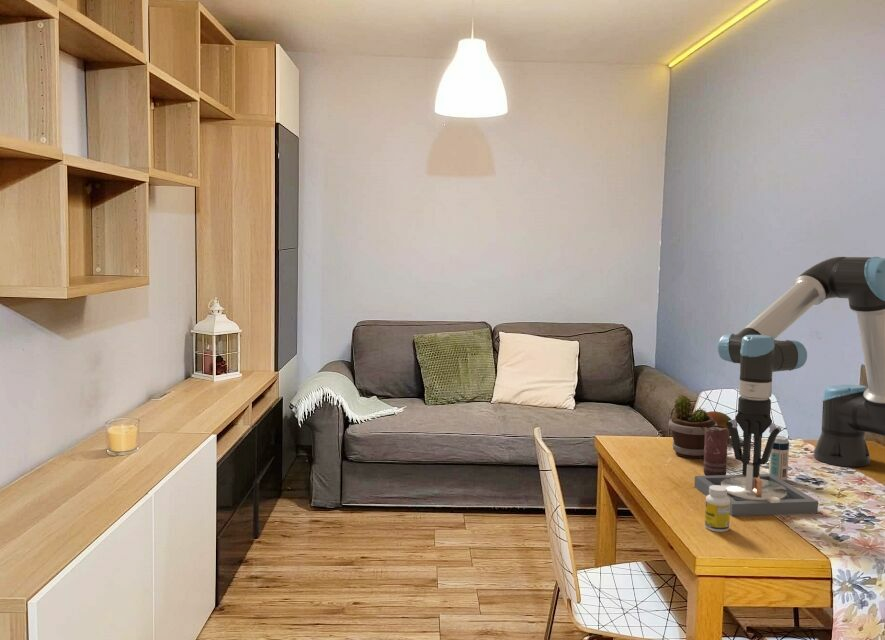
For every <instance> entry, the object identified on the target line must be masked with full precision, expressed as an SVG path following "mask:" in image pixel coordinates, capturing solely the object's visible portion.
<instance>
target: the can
mask: <svg viewBox="0 0 885 640" xmlns="http://www.w3.org/2000/svg"><path fill="white" fill-rule="evenodd" d="M729 438H730V437H729V430H728V429H727V428H725V427H721V426H707V427H706V429H705V445H704V458H703V474H704V476H711V475H727V465H728V464H727V463H728V462H727V461H728V442H729Z"/></svg>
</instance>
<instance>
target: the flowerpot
mask: <svg viewBox="0 0 885 640" xmlns="http://www.w3.org/2000/svg"><path fill="white" fill-rule="evenodd" d="M688 397H689V395H686V394H684V393H683V392H681V394H680V393H679V395H677V396H676V398H675V399H674V400H673V401H674V402H673V403H674V404H673V406H672V408H673V412H674V415H673V416H672V417H671V418H670V419H669V421H668V428H669V429H670V431H671V434H672V439H673V442H672V444H671V445H672V449H673V451H674V453H675V454H676V455H677V456H679V457H683V458H687V459H704V445H705V429H706V427H707V426H718V425H717V423H716V422H715V421H714V419H713V417H711V416H709V415H707V413H706V412H707V410H706V408H702V407H701V406H698V409H695V410H694V411H692V408H691V407H692V406H693V405H694V403H692V399H691V398H690V397H689V398H688Z"/></svg>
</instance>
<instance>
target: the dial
mask: <svg viewBox="0 0 885 640" xmlns="http://www.w3.org/2000/svg"><path fill="white" fill-rule="evenodd" d="M721 486H724V487H726V488H727V495H729V496H730V497H731V498H733V499H734V500H735V501H755V500H767V497H777V498H779V499H780V500H787V489H786V488H785V487H784V486H782V485H780V484H778V483H775V482H772V481H768V480H764V479H760V477H759V476H758V477H757V478H755V488H754V489H753V490H752V491H749V490H746V477H734V478H728V479H725V480H723V481H722V482H721Z"/></svg>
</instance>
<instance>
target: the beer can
mask: <svg viewBox="0 0 885 640" xmlns="http://www.w3.org/2000/svg"><path fill="white" fill-rule="evenodd" d="M789 452H790V441H789V439H788V437H785V436H782V435H777V436H776V439H775V442H774V445H773V448H772V451H771V454H770V457H769V460H768V462H769V464H768V474H773V475H775V476H777V477H778V478H780V479H782V480H783V481H785V482H786V481H787V480H788V473H789V472H788V471H789V470H788V469H789V455H790V454H789Z"/></svg>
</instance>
